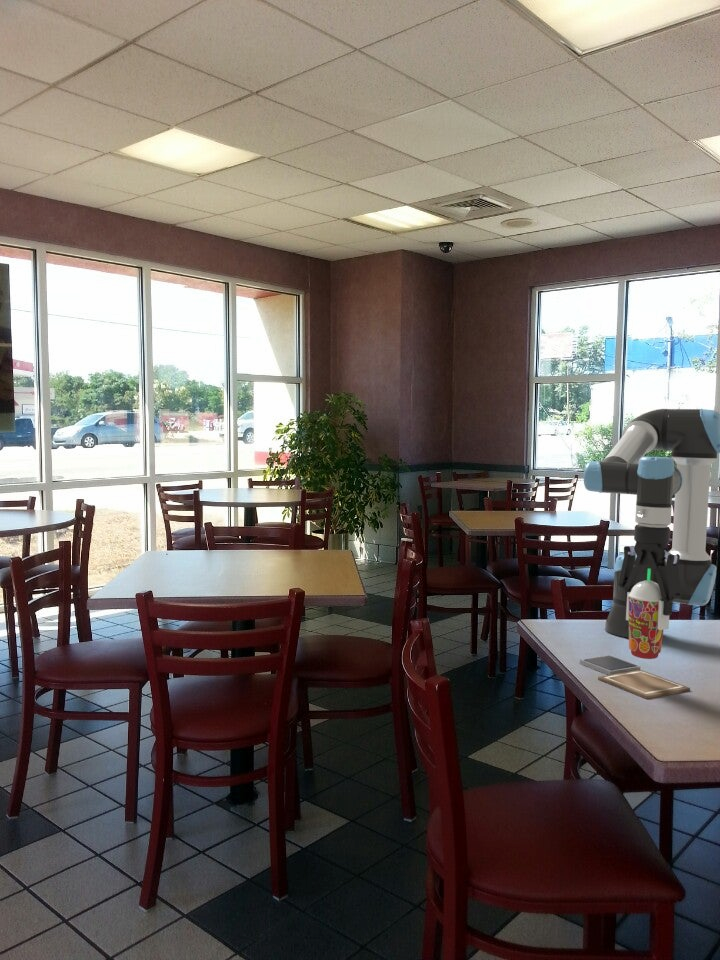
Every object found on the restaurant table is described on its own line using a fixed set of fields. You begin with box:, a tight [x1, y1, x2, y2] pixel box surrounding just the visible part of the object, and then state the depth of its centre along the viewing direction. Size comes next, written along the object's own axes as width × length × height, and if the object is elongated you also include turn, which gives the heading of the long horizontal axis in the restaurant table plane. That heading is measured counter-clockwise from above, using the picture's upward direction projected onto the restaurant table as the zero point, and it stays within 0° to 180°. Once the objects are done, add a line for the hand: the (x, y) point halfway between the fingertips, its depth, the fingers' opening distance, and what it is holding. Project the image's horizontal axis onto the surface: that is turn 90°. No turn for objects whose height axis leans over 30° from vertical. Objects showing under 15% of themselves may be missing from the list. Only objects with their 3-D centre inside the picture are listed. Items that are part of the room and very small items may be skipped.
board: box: [597, 669, 691, 700], centre depth 176 cm, size 14×14×1 cm
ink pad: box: [579, 654, 641, 675], centre depth 189 cm, size 10×10×1 cm
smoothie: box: [628, 568, 664, 660], centre depth 175 cm, size 8×8×20 cm
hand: (646, 624), depth 175 cm, fingers closed on smoothie, 8 cm apart
